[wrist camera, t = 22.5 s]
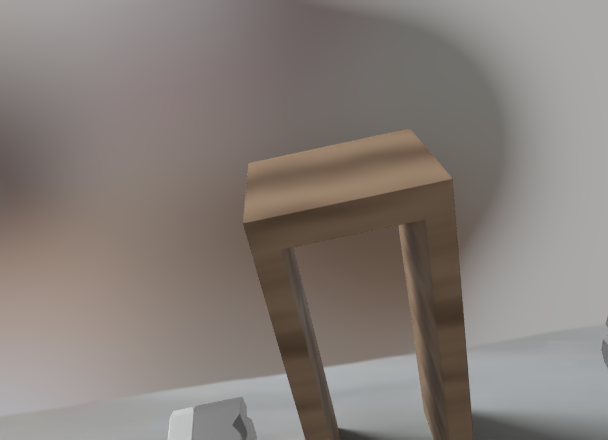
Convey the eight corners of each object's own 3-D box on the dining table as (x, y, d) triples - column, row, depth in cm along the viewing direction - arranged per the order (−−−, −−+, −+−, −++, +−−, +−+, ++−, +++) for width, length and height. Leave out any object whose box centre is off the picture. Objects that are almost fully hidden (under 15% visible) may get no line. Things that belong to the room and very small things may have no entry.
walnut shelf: (478, 500, 38) (452, 178, 27) (331, 528, 39) (243, 223, 27) (441, 407, 46) (409, 128, 35) (320, 431, 47) (248, 163, 35)
